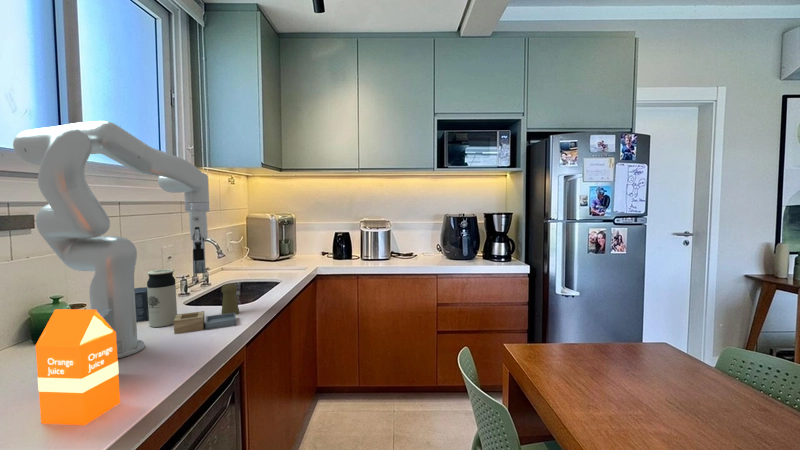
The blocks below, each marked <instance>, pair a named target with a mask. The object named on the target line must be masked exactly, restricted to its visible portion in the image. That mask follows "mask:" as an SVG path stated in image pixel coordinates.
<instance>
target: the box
mask: <svg viewBox="0 0 800 450" xmlns="http://www.w3.org/2000/svg"><path fill="white" fill-rule="evenodd" d="M134 291H135V307H136V323H137V322H138V323H140V322H148V321H149V310H148V292H147V286H146V287H136V288H135V287H134Z"/></svg>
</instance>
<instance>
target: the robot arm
mask: <svg viewBox="0 0 800 450" xmlns="http://www.w3.org/2000/svg"><path fill="white" fill-rule="evenodd" d="M12 146H13V147H12V148H13V150H14V153H15V154H16V155H17V156H18V157H19V158H20V159H21V160H22V161H24V162H27V163H28V164H31V165H36V166H40V167H39V170H38V175H37V184H38V185H37V186H38V188H39V190H40V192H41V194H42V196H43V197H44V199H45V200H46V202H47V203H48V204H47V203H46V204H45V205H44V206H42V207H41V208H40V209H39V210H38V212H37V214H36V217H35V226H36V228H37V230H38V233H39V234H40V236H41V237H42V239H44V240H45V242H46V244H47V245H48V246H49V247H50V248H51V249H52V251H53V252H54V254H56V255H57V257H58V258H59V260H61V261H62V263H64V265H65V266H67V267H68V268H69V269H72V270H74V271H78V272H94V275H93V278H92V279H91V282H90V284H89V285H90V286H89V306H90V310H105V309H112V310H113V330H114V331H115V332H116V342H117V359H120V358H125V357H128V356H131V355H134V354H136V353H139V352H140V351H142V350H143V349H144V348H145V341H144V340H141V339H138V328H137V322H136V307H135V291H134V289H135V269H136V266H137V265H136V264H137V258H138V252H137V247H136V246H135V244H134V243H133V242H132V241H131V240H130V239H128V238H125V237H123V236H118V235H105V234H106V233H107V232H108V231H109V229H110V226H111V221H110V220H111V219H110V218H109V215H108V213H107V212H106V210H105V209H104V208H103V206H102V204H101V202H99V200H98V198H97V197H96V196H95V193H93V191H92V190H91V188H90V186H89V184H88V182H87V180H86V177H85V176H86V175H85V169H86V165H87V163H88V160H89V158H90V156H91V155H98V154H100V155H103V156H105V157H107V158H109V159H111V160H113V161H115V162H117V163H118V164H120V165H123V166H124V167H125V168H127V169H129V170H131V171H133V172H135V173H138V174H139V173H140V174H143V175H148V176H155V177H157V178H158V179H157V183H158V186H159V187H160V188H161V189H162V190H163V191H165V192H167V193H173V194H174V193H175V194H176V193H179V194H180V193H184V210H185V211H184V212H185V213H188V217H189V218H188V219H189V220H188V221H189V233H190V240H191V241H193V239H194V249H193V248H192V252H193V255H192V256H193V262H194V261H200V260H204V249H203V238H204V241H206V240H208V238H209V236H208V218H207V212H210V193H209V192H210V191H209V188H210V187H209V177H208V175H207V173H205V172H203V171H201V170H200V169H199V167H197V166H196V165H194V164H193V163H191V162H189V161H188V160H186V159H183V158H181V157H180V156H177V155H174V154H171V153H167V152H165V151H162V150H159V149H157V148H153V147H152V146H149V144H147V143H145V142H143V141H142V140H140V139H139V138H137V137H136V136H134V135H132V134H131V133H129V132H128V131H127V130H125V129H123V128H122V127H121V126H119V125H117V124H115V123H113V122H111V121H107V120H93V121H92V120H91V121H83V122H82V121H80V122H75V123H74V122H73V123H67V124H62V125H55V126H47V127H40V128H33V129H32V128H30V129H26V130H23V131H21V132H19V133H18V134H17V135H16V136H15V137H14V140H13V143H12ZM200 238H201V240H200Z"/></svg>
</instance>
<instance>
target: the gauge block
mask: <svg viewBox="0 0 800 450" xmlns="http://www.w3.org/2000/svg"><path fill="white" fill-rule="evenodd" d="M205 320H206V317H205V310H202V311H194V312H185V313H177V315H176V317H175V319H174V324H173V333H174V335H176V334H182V333H183V334H184V333H189V332H190V333H191V332H195V331H196V332H197V331H203V330H205Z"/></svg>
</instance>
